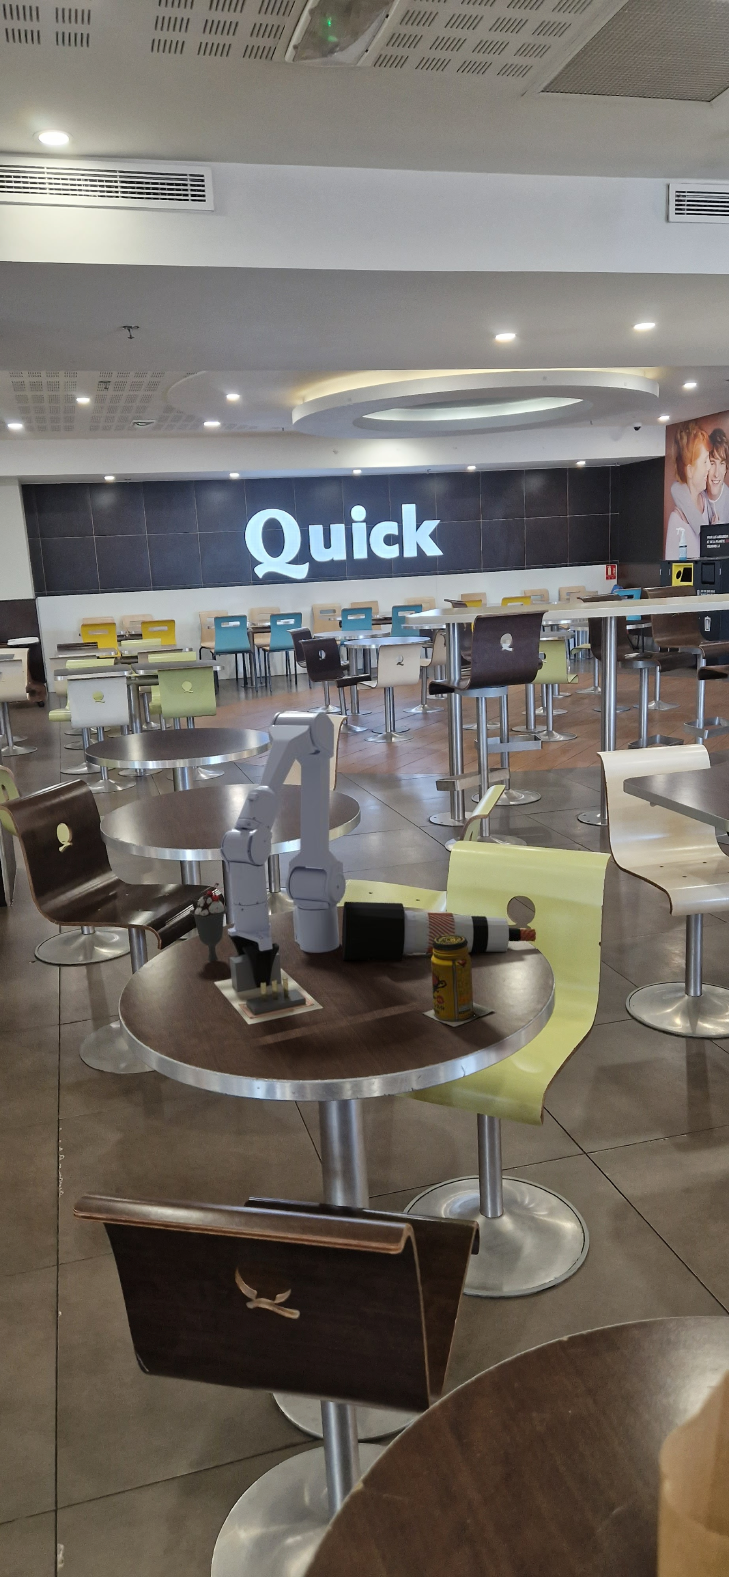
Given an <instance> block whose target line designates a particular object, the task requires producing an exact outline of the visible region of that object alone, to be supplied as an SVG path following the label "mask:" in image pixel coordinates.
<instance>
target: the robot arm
mask: <svg viewBox="0 0 729 1577" xmlns="http://www.w3.org/2000/svg"><path fill="white" fill-rule="evenodd" d="M267 733H268V740H269V742H270V749H269V752H268V755H267V758H266V760H265V761H266V762H265V764H264V767H263V770H262V774H261V778H260V781H259V784H258V787H254V788H252V789H251V790H249V791H248V794H247V795H246V798H245V800H244V803H243V806H242V808H241V810H240V813H239V815H238V816H237V817H238V818H237V821H236V823H235V825H234V827H233V828H231V829H230V830H228V831H227V832H226V833H225V834H224V835H223V837H222V840H221V846H220V847H221V848H219V853H220V856H221V858H222V860H223V861H224V862H225V868H226V872H227V874H229V875H230V877H229V878H230V888H231V901H232V911H233V912H232V913H233V922H234V923H233V924H234V925H233V927H231V928H228V929H227V934H228V937H229V939H230V940H231V943H232V944H233V946H234V948H235V951H236V953H237V956H239V955H245V954H246V956H247V958H248V960H249V962H250V965H251V969H252V973H253V978H254V982H255V985H256V987H257V988H260V987H261V982H266V986H269V984H270V979H271V972H272V966H273V962H274V959H275V957H276V954H277V953H279V950H280V945H279V944H278V943H276V942H274V943H273V938H272V936H271V934H272V933H271V931H272V924H271V923H270V914H269V904H268V902H269V900H268V891H267V890H268V888H267V877H266V876H267V875H266V862H267V860H268V859H269V857H270V856H271V853H272V838H273V832H272V829H273V826H274V823H275V821H276V818H277V815H278V813H279V810H280V808H281V805H282V801H281V799H280V796H279V793H280V790H281V789H282V786H283V785H284V783H285V781H286V779H287V776H288V775H289V773H290V771H291V769H292V767H293V765H294V763H295V761H297V762H298V763H299V764H300V838H299V840H300V841H299V842H300V847H299V848H300V850H299V852H298V853H297V854H296V855H294V856H293V857H292V858H291V859H289V861H288V872H287V875H286V877H285V878H286V879H285V892H286V894H287V896H288V898H289V899H290V900H292V901H293V906H294V908H293V911H292V920H293V931H294V932H293V934H294V942H295V943H297V944H298V945H299V948H300V950H302V951H303V952H306V953H314V954H315V953H317V954H319V953H327V952H331V951H334V950H336V949H337V948H339V946H340V934H339V933H340V932H339V917H338V904H339V903H341V901H342V900H343V897H344V896H345V894H346V889H347V888H346V886H347V885H346V884H347V883H346V877H345V875H344V866H343V865H344V864H343V863H344V862H343V861H341V860H340V858H338V857H337V856H336V855H335V854H334V853H332V852H331V851H330V802H331V801H330V800H331V799H330V795H331V794H330V789H331V788H330V784H331V783H330V782H331V781H330V780H331V779H330V778H331V777H330V776H331V759H332V758H333V757H334V755H335V753H334V752H335V724H334V722H333V721H332V720H331V718H330V716H329V715H328V714H327V713H326V712H324V711H317V712H285V711H279V712H276V713H275V714H274V715H273V717H272V719H271V722H270V726H269V729H268V732H267Z"/></svg>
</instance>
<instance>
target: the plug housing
mask: <svg viewBox="0 0 729 1577" xmlns="http://www.w3.org/2000/svg"><path fill="white" fill-rule="evenodd" d="M280 956H281V955H280V953H279V952H277V954H276V957H275V959H274V962H273V966H272V972H271V979H270V984H269V986H270V985H272V980H277V984H280V983H282V981H281V969H282V968H281V958H280ZM229 965H230V976H231V977H230V979H232V987H233V988H234V989H235V990H236V991H237V992H242V991H247V990H251V989H256V988H257V987H256V985H255V982H254V978H253V973H252V969H251V965H250V962H249V960H248V958H247V956H246V954H245V955H239V956H238V955H235V956H230V957H229ZM260 988H261V987H260Z"/></svg>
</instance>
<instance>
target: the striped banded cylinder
mask: <svg viewBox="0 0 729 1577" xmlns="http://www.w3.org/2000/svg"><path fill="white" fill-rule="evenodd" d="M404 908H405V906H404V904H403V903H401V902H378V901H377V902H376V901H375V902H373V901H372V902H368V901H367V902H366V901H344V902H343V909H342V911H343V912H342V923H341V924H342V927H341V929H342V930H341V951H342V952H341V954H342V960H343V961H376V962H377V961H379V962H380V961H382V962H383V961H385V962H386V961H387V962H388V961H389V962H400V961H402V960H403V956H404V954H405V955H408V954H409V955H413V954H426V955H430V954H433V940H434V939H435V938H436V937H439V936H442V935H460V936H463V937H465V938H466V939H467V941H468V944H467V946H468V953H472V952H473V953H474V952H475V953H476V952H477V953H485V952H489V953H491V952H495V953H496V952H499V953H500V952H502V953H504V952H506V951H508V948H509V942H535V941H536V939H537V937H536V936H537V931H536V928H517V927H516V928H515V927H509V921H508V919H507V917H505V916H503V917H502V916H498V917H497V916H486V915H485V916H484V915H471V914H453V913H452V912H428V911H414V910H405V909H404Z"/></svg>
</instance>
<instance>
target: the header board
mask: <svg viewBox="0 0 729 1577" xmlns="http://www.w3.org/2000/svg"><path fill="white" fill-rule="evenodd" d="M281 981H282V983H280V984H277V980H272V985H270V986H266V982H261V988H256V989H251V990H247V991H242V992H237V991H236V990H235V989H234V988H233V987H232V979H231V978H229V979H228V978H227V979H224V980H223V979H222V980H218V981H214V982H213V984H214V985H215V986H216V987H217V988H218V990H219V991H220V992H221V993H222V994H223V995H224V997H225V998H226V999H227V1000H228V1002H229V1003H230V1004H231V1005H232V1007H233V1008H234V1009H235V1010H236V1012H238V1013H239V1015H240V1016H241V1017H242V1018H243V1020H244V1021H245V1022H246V1023H247V1024H248V1025H252V1024H257V1023H262V1022H266V1021H270V1020H271V1021H272V1020H276V1019H280V1018H284V1017H288V1016H289V1017H290V1016H293V1015H299V1014H302V1013H308V1012H311V1011H315V1010H316V1011H317V1010H321V1009H324V1007H323V1006H322V1005H321V1004H320V1003H319V1002H318V1001H317V1000H316V999H314V998H313V997H312V996H311V995H310V994H309V993H308V992H307V991H306V990H305V989H304V988H303V987H302V986H300V985H299V983H298V982H296V981H295V980H294V979H293V978H292V977H291V976H290V975H289V974H288V973H287V972H286V971H285V970H284V969H283V968H281Z"/></svg>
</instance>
